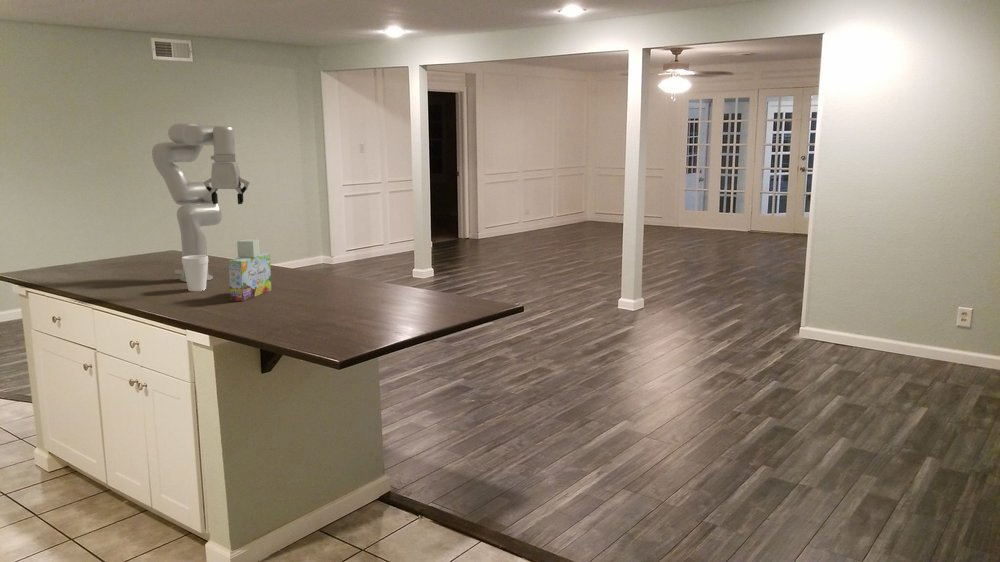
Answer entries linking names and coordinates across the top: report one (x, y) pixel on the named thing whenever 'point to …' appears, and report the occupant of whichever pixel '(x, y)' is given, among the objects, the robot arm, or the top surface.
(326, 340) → the top surface
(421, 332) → the top surface
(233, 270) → the snack box
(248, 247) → the sage block
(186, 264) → the foam cup
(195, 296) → the top surface
